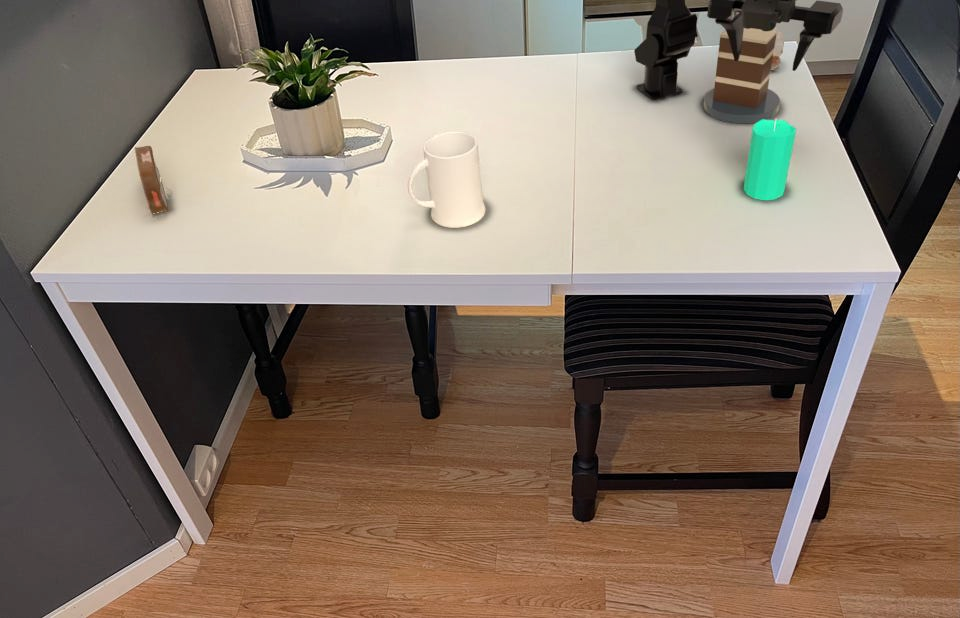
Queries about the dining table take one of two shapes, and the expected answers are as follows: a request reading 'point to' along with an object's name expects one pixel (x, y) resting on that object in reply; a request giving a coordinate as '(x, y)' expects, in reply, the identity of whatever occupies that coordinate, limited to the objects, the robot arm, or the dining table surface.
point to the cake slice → (745, 68)
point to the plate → (741, 109)
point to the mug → (452, 179)
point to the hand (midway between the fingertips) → (765, 65)
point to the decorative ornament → (777, 50)
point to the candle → (769, 159)
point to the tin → (151, 180)
